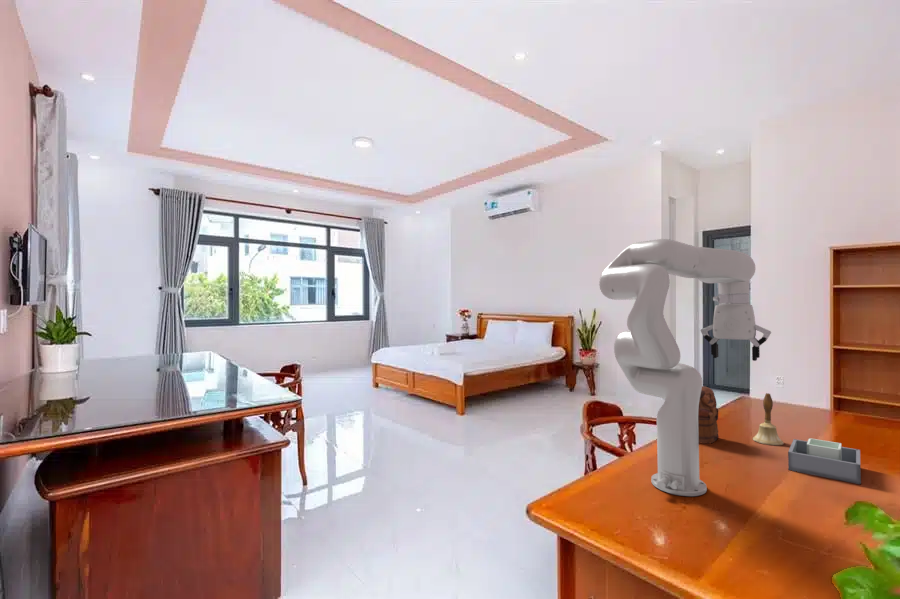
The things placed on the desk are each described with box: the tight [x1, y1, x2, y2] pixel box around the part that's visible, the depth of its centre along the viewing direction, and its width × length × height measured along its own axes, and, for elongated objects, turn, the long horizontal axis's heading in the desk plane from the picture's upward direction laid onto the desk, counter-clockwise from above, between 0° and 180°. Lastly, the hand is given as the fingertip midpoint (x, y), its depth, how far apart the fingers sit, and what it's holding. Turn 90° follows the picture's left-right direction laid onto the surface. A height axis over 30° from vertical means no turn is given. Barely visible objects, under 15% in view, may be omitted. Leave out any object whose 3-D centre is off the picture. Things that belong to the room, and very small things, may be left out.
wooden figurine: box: [698, 385, 720, 444], centre depth 147 cm, size 12×6×18 cm, turn 128°
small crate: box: [807, 438, 842, 461], centre depth 121 cm, size 7×7×6 cm
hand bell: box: [752, 392, 785, 446], centre depth 144 cm, size 8×8×16 cm
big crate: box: [787, 438, 862, 485], centre depth 121 cm, size 15×15×5 cm
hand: (734, 358), depth 126 cm, fingers open, 9 cm apart
